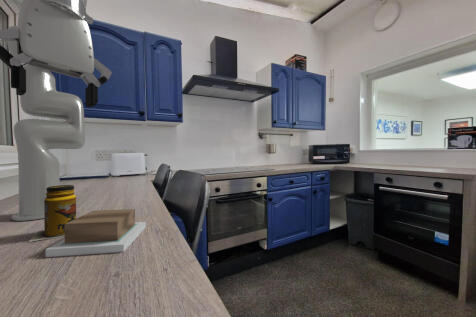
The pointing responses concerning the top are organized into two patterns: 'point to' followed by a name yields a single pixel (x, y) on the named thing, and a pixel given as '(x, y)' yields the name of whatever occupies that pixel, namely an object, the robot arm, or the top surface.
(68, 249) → the build board
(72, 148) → the robot arm
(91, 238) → the base block
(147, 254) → the top surface
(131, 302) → the top surface
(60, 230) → the condiment
